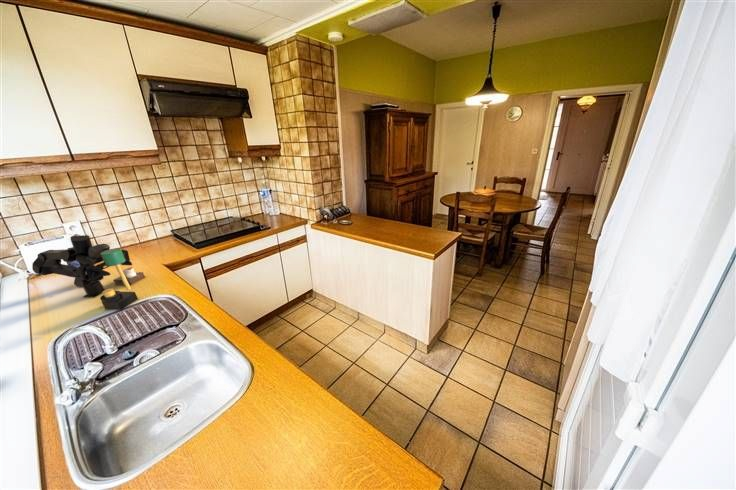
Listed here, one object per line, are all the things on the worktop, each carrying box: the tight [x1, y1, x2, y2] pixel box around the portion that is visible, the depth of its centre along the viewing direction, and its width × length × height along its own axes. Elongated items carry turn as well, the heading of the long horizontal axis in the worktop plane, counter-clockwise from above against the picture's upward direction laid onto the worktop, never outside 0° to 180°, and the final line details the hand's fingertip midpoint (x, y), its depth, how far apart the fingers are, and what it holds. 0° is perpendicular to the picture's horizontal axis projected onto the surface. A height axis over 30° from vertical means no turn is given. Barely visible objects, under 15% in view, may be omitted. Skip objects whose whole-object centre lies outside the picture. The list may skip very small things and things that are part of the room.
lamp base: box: [99, 290, 139, 311], centre depth 117 cm, size 9×9×6 cm
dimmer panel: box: [113, 271, 146, 286], centre depth 138 cm, size 10×9×3 cm
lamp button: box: [102, 288, 116, 298], centre depth 114 cm, size 4×4×2 cm
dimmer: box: [122, 266, 137, 278], centre depth 136 cm, size 4×4×4 cm
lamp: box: [101, 247, 132, 291], centre depth 115 cm, size 6×6×19 cm
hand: (121, 268), depth 117 cm, fingers open, 9 cm apart
